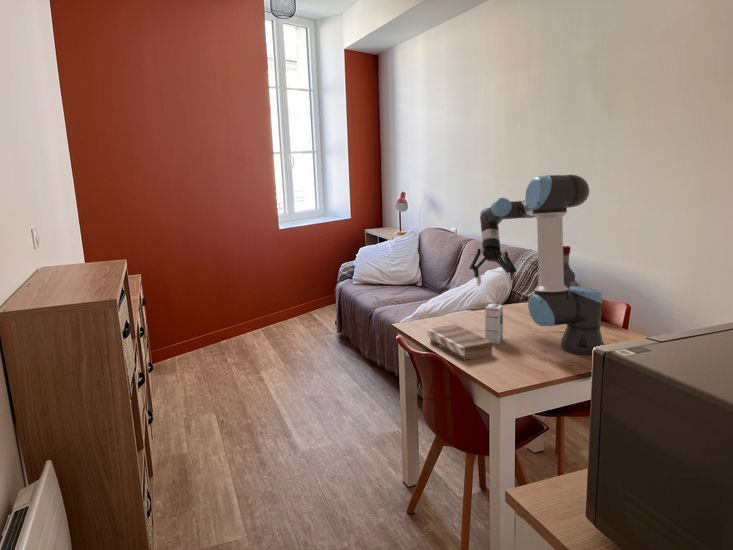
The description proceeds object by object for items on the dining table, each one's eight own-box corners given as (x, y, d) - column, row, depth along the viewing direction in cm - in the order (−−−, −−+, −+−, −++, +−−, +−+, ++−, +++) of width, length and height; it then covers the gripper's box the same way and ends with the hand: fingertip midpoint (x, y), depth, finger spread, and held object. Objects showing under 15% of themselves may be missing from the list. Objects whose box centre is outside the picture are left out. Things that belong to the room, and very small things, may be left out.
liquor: (573, 307, 253) (577, 245, 246) (572, 312, 244) (576, 248, 238) (553, 306, 256) (556, 244, 250) (551, 311, 248) (555, 247, 241)
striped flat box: (491, 354, 196) (492, 342, 195) (461, 361, 191) (461, 348, 190) (455, 336, 217) (455, 324, 216) (427, 341, 212) (426, 329, 211)
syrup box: (499, 344, 207) (500, 308, 204) (484, 342, 210) (485, 306, 206) (502, 339, 212) (503, 304, 209) (488, 337, 214) (488, 303, 211)
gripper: (513, 248, 238) (518, 292, 229) (460, 242, 234) (463, 286, 225) (521, 240, 231) (526, 285, 223) (466, 234, 227) (469, 279, 219)
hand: (494, 286), depth 224 cm, fingers open, 13 cm apart
